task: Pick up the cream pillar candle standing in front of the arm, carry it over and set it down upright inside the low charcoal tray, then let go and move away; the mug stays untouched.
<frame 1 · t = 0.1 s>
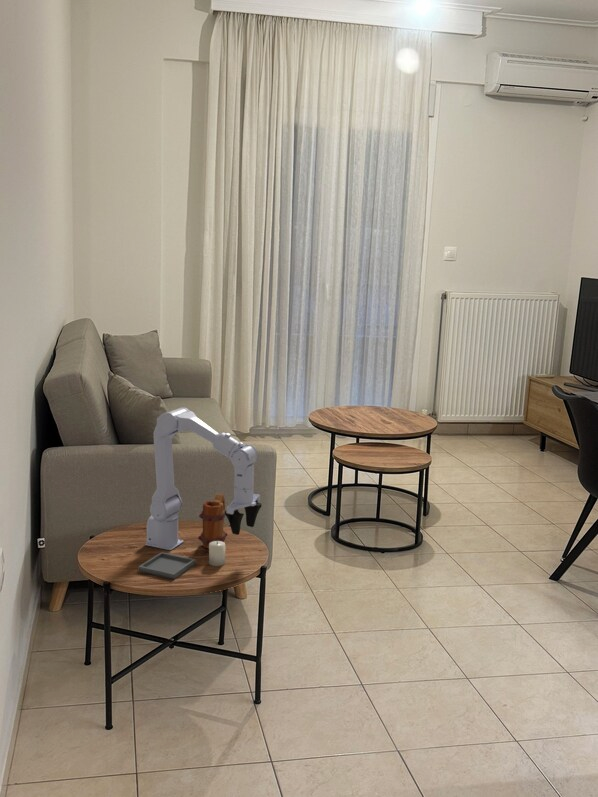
hand: (243, 530, 241), 10 cm above the table, tool pointing down, fingers open, 7 cm apart
mug: (215, 543, 256), on the table
tray: (167, 567, 236), on the table
candle: (217, 562, 241), on the table
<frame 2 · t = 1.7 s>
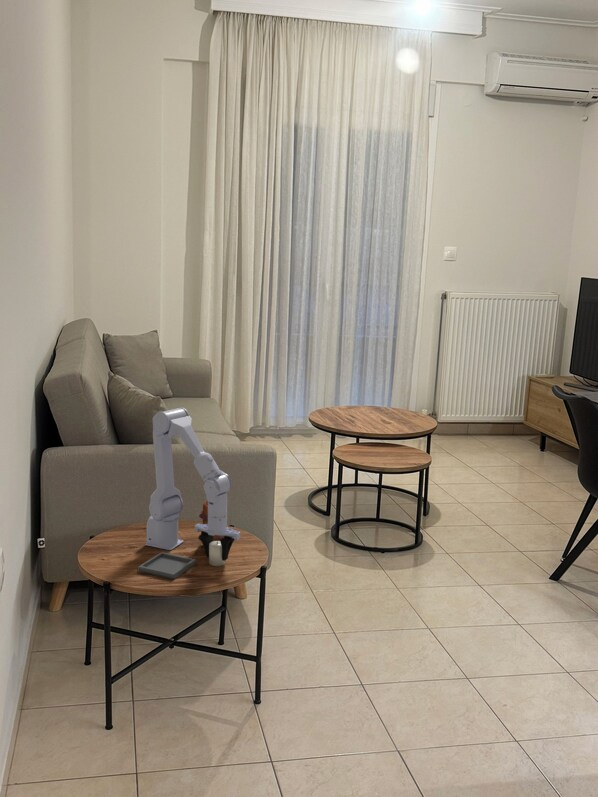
hand: (217, 557, 241), 2 cm above the table, tool pointing down, fingers closed on candle, 5 cm apart
candle: (217, 562, 241), on the table, touching gripper
everything else where it was.
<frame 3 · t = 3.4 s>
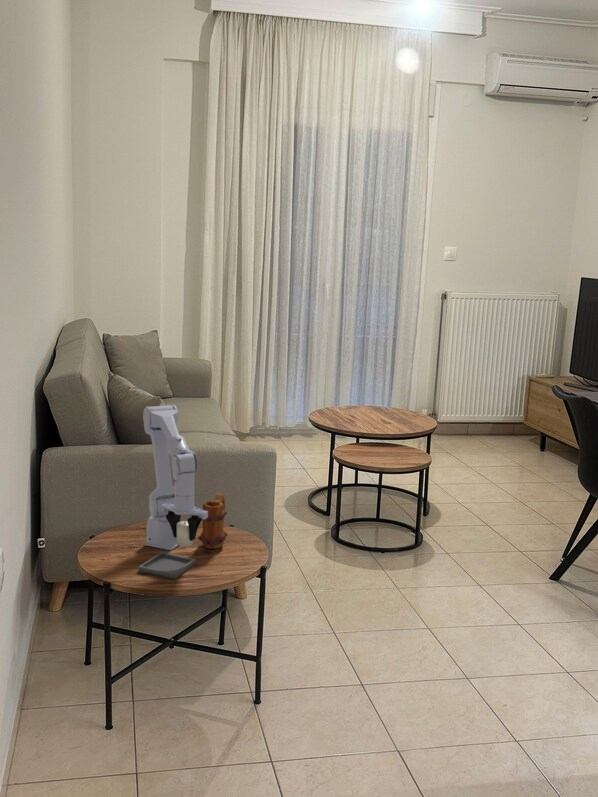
hand: (184, 537, 236), 9 cm above the table, tool pointing down, fingers closed on candle, 5 cm apart
candle: (184, 543, 237), point 7 cm above the table, touching gripper
everything else where it was.
when the fingers open (3 cm above the table, at t = 5.3 s): candle stays where it is, resting on tray.
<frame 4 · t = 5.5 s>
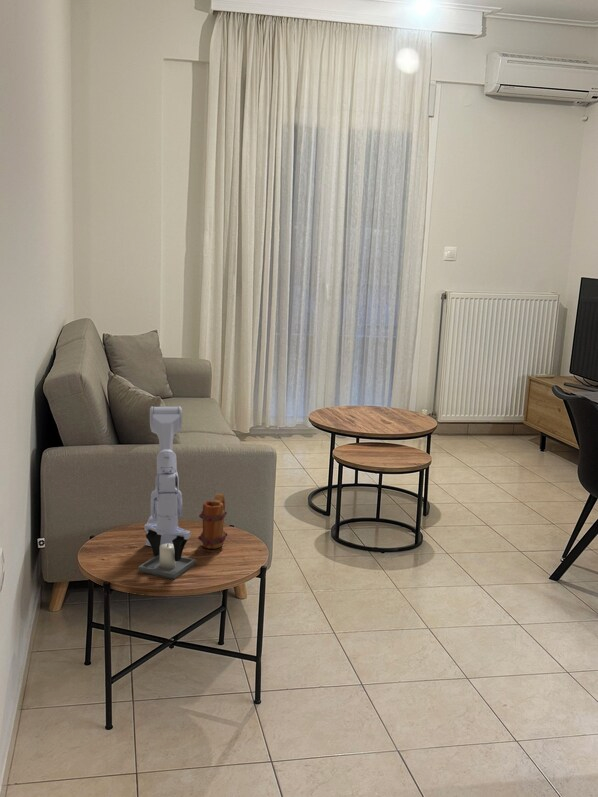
hand: (167, 557, 236), 3 cm above the table, tool pointing down, fingers open, 7 cm apart
candle: (167, 565, 237), point 1 cm above the table, touching tray
everything else where it was.
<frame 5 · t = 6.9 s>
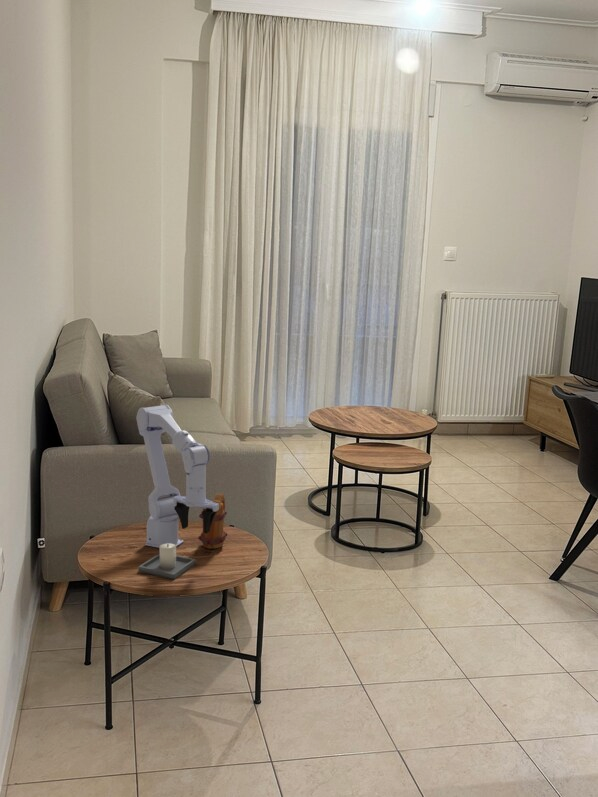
hand: (195, 529, 239), 10 cm above the table, tool pointing down, fingers open, 7 cm apart
nothing on the table moved.
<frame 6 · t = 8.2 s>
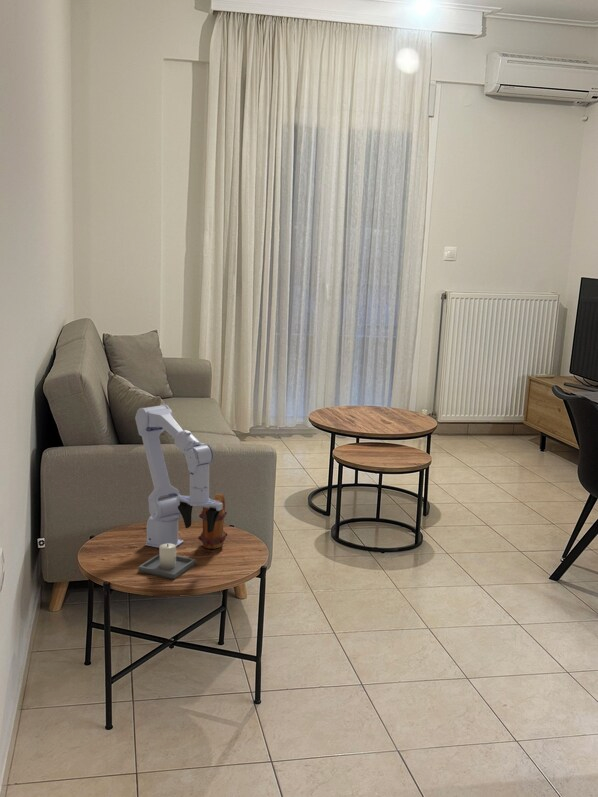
hand: (199, 529, 239), 10 cm above the table, tool pointing down, fingers open, 7 cm apart
nothing on the table moved.
at the end: candle inside the target area on the tray (0.2 cm from its centre), point 0.6 cm above the tray's base; candle tilted 0°; the gripper is holding nothing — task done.
